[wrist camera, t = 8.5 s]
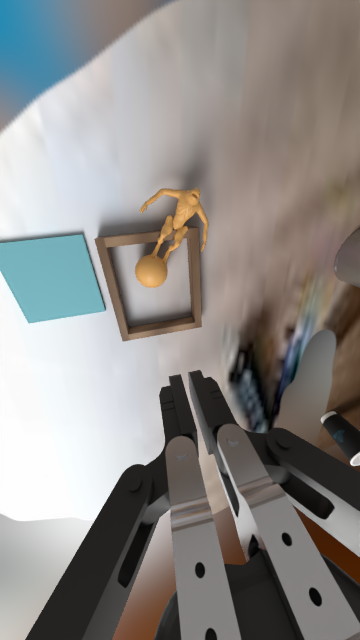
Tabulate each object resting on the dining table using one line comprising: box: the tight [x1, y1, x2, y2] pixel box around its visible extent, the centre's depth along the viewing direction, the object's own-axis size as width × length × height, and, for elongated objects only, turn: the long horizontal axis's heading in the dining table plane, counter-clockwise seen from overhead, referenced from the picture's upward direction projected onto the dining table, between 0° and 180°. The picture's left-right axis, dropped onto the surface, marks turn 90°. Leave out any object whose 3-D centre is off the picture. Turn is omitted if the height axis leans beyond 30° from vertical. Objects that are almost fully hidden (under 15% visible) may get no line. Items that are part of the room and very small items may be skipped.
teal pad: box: [0, 234, 106, 323], centre depth 25 cm, size 10×10×1 cm
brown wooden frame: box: [95, 227, 202, 341], centre depth 27 cm, size 12×14×2 cm
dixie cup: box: [321, 411, 360, 466], centre depth 52 cm, size 8×8×11 cm
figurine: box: [135, 188, 208, 288], centre depth 23 cm, size 8×6×12 cm
